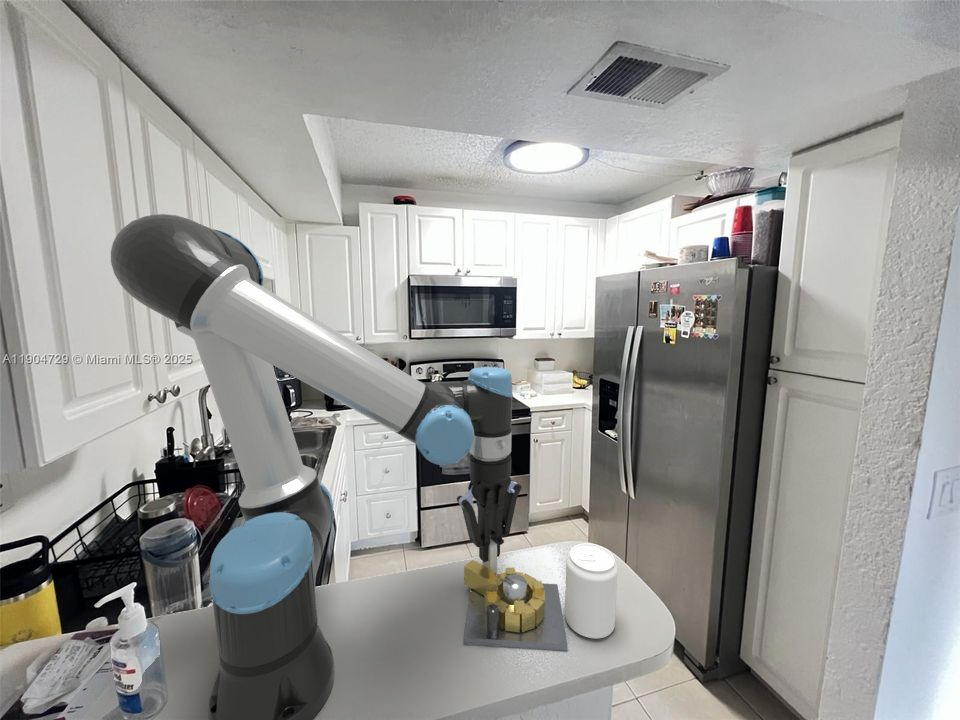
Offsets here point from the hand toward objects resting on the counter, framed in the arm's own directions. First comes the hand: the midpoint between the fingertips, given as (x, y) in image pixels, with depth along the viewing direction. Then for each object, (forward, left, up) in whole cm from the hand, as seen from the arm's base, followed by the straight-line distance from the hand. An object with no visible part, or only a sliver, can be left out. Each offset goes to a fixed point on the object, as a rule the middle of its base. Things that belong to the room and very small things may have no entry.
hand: (489, 573), depth 74 cm
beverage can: (+17, -7, -3) cm, 19 cm away
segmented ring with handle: (+2, -5, -1) cm, 6 cm away
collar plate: (+5, -6, -3) cm, 8 cm away
